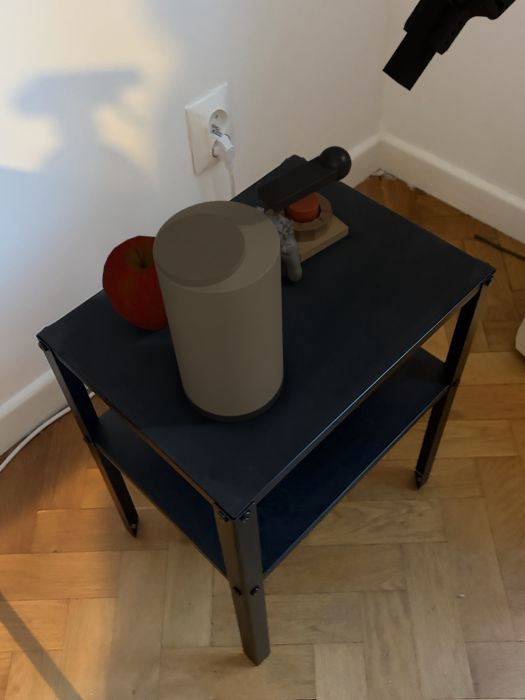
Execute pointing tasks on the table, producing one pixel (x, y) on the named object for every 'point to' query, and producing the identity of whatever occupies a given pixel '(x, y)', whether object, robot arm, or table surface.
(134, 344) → the table surface
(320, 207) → the button base
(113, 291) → the apple
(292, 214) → the button
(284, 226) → the grey toy figure
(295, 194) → the switch
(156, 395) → the table surface
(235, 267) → the beige cylinder
